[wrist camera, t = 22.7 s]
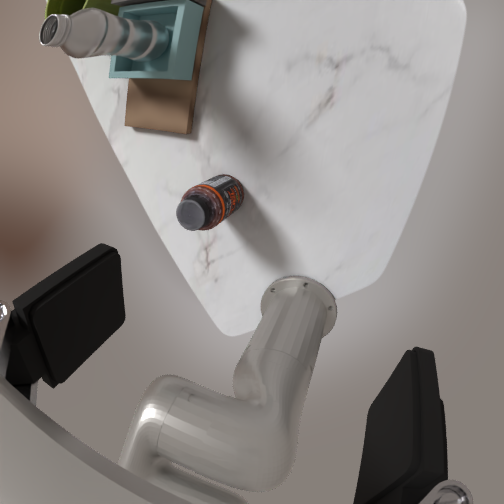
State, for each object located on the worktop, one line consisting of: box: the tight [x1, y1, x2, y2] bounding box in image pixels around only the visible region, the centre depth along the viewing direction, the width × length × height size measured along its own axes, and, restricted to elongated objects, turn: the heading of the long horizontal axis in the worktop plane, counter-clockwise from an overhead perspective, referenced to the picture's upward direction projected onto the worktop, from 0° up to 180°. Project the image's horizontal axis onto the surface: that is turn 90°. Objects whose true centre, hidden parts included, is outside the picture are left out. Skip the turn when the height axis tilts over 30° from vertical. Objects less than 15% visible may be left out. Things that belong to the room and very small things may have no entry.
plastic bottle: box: [39, 8, 169, 62], centre depth 30 cm, size 6×7×20 cm
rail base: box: [111, 0, 212, 134], centre depth 38 cm, size 22×12×8 cm, turn 170°
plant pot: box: [45, 0, 122, 20], centre depth 35 cm, size 12×12×11 cm
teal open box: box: [109, 0, 204, 80], centre depth 37 cm, size 12×12×5 cm
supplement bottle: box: [176, 174, 244, 231], centre depth 43 cm, size 6×6×11 cm
